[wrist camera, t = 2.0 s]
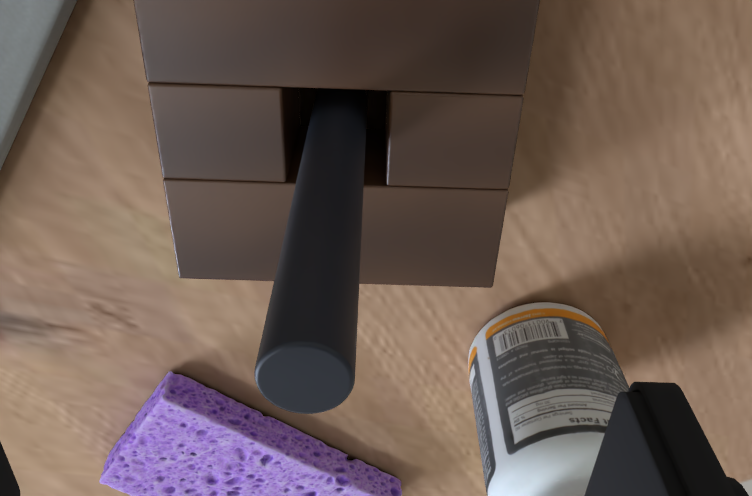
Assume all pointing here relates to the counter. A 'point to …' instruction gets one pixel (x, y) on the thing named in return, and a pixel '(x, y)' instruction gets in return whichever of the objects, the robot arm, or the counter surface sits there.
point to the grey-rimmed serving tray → (25, 57)
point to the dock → (383, 146)
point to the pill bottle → (542, 399)
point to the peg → (319, 265)
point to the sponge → (228, 452)
